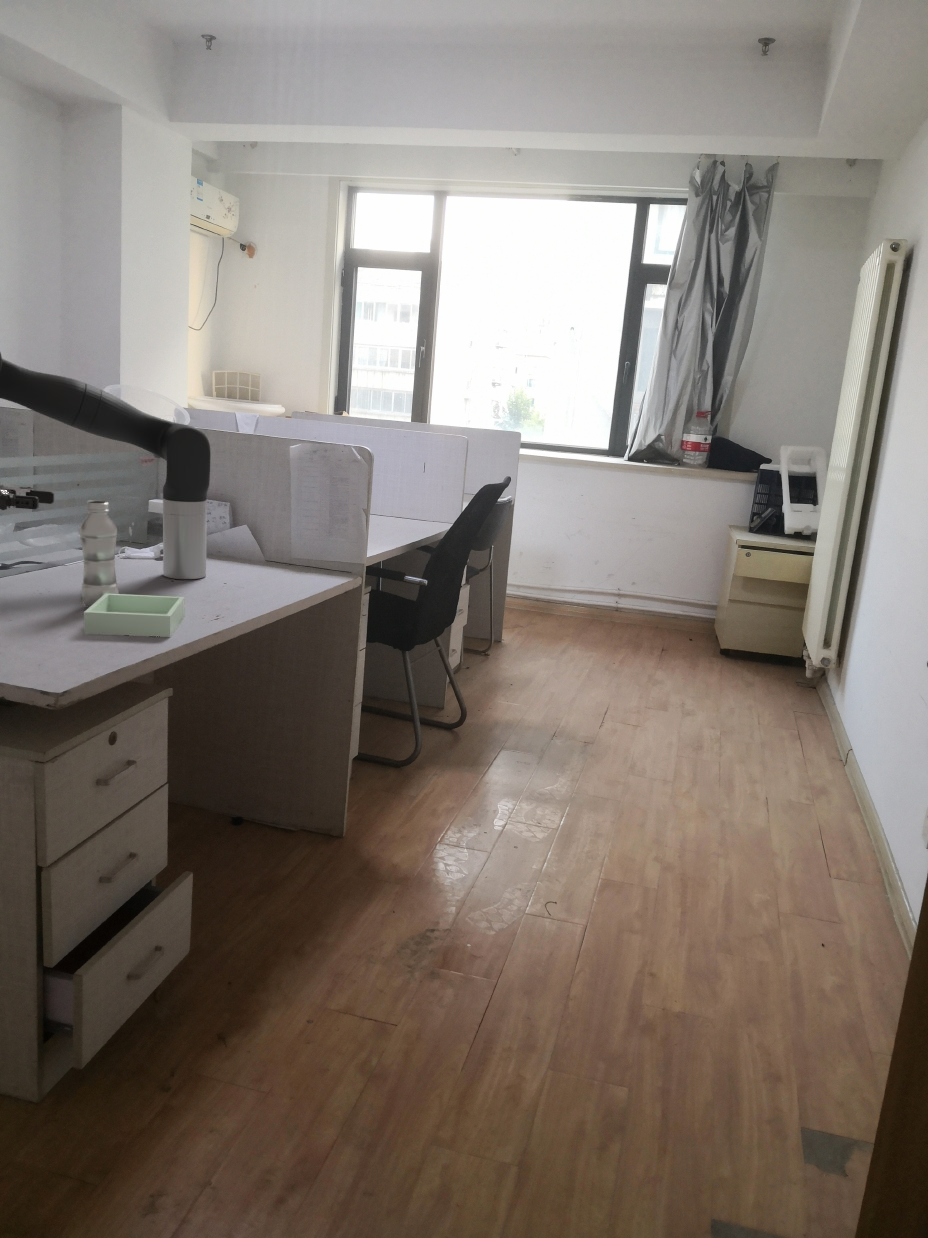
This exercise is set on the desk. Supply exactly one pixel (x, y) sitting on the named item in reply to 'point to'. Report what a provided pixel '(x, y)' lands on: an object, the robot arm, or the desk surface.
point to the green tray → (134, 615)
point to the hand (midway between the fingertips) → (46, 500)
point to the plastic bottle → (98, 553)
